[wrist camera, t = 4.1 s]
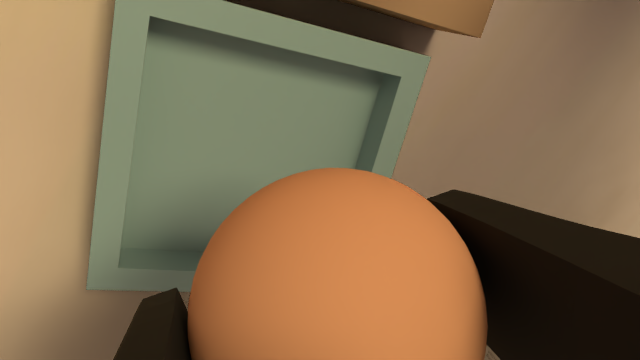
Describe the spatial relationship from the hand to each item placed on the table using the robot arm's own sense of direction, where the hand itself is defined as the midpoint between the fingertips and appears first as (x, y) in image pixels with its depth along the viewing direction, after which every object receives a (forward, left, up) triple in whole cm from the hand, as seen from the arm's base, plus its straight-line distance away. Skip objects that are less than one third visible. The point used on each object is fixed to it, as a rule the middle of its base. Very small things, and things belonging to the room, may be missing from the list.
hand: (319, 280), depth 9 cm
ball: (0, 0, -2) cm, 2 cm away
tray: (0, 0, -8) cm, 8 cm away
